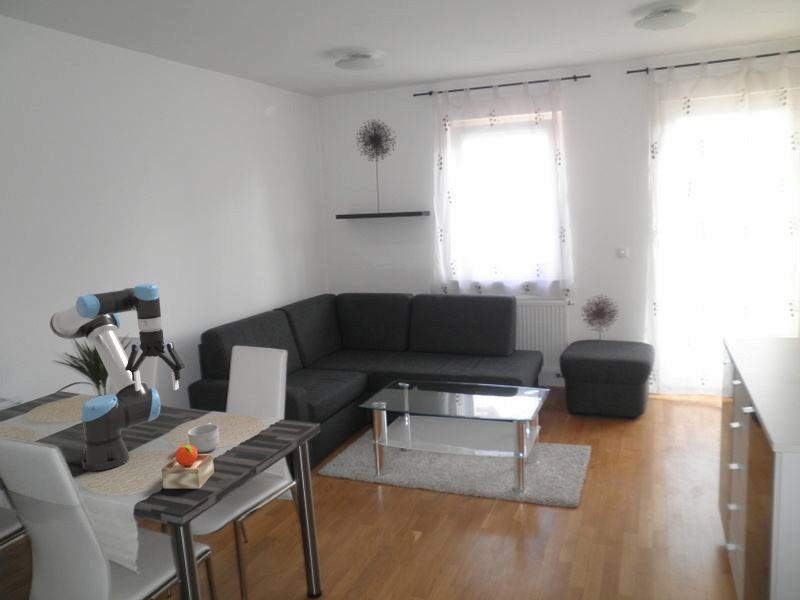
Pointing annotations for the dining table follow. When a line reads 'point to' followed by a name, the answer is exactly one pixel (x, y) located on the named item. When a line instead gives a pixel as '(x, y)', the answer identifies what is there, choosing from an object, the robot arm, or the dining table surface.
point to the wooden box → (188, 473)
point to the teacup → (204, 437)
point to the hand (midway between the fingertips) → (157, 389)
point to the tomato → (186, 455)
